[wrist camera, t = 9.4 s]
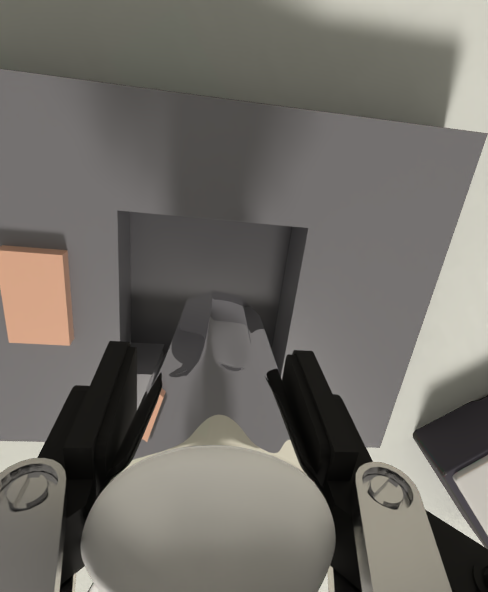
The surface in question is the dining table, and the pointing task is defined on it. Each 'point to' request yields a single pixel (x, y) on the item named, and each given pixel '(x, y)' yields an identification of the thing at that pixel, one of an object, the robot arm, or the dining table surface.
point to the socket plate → (213, 235)
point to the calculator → (461, 460)
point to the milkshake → (211, 472)
